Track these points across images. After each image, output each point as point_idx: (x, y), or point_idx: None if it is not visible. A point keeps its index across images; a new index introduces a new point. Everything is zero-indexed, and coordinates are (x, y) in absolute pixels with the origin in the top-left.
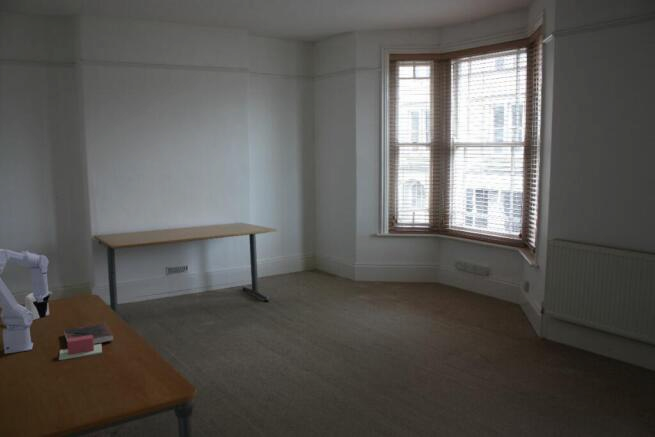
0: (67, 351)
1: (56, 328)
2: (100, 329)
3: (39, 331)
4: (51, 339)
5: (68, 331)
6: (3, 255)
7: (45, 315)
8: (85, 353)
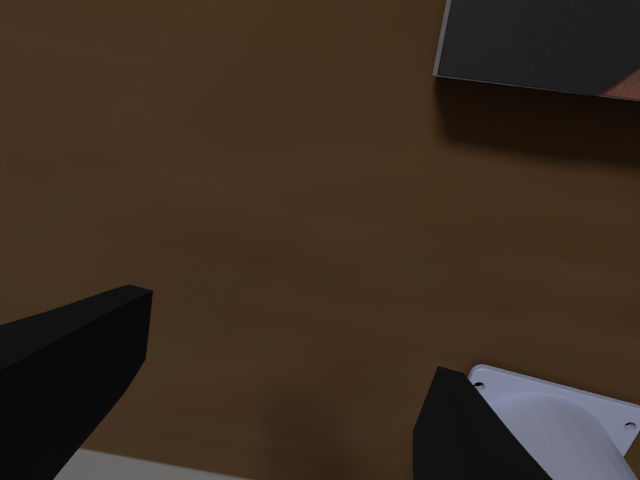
0: None
1: (136, 101)
2: None
3: (140, 250)
4: (473, 216)
5: (586, 46)
6: None
7: (473, 386)
8: None
